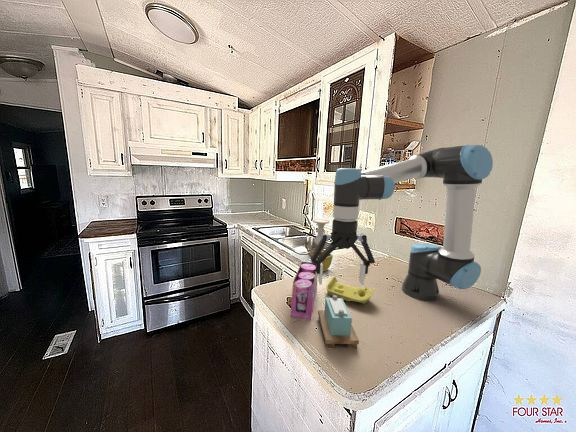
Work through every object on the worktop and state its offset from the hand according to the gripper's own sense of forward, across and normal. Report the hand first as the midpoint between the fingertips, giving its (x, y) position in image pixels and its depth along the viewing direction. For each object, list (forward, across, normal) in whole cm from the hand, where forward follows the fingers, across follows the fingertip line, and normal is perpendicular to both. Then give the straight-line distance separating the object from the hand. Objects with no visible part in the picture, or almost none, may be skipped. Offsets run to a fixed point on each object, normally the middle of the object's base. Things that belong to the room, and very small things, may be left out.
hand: (340, 282), depth 77 cm
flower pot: (+18, -3, -53) cm, 56 cm away
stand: (+18, +1, 0) cm, 18 cm away
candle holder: (+18, -5, -74) cm, 76 cm away
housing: (+15, +1, 0) cm, 15 cm away
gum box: (+18, +9, -18) cm, 27 cm away
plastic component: (+18, -11, -23) cm, 31 cm away
